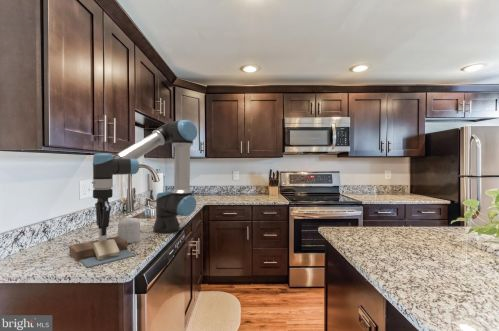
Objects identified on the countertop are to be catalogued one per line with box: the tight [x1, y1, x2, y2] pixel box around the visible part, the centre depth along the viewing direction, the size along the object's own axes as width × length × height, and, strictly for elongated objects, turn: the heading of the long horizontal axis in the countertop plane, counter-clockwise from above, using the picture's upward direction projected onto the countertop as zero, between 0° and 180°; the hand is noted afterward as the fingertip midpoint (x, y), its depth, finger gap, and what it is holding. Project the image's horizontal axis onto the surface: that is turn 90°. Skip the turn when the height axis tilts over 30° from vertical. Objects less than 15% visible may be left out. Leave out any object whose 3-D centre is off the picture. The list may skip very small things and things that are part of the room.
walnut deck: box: [68, 235, 128, 262], centre depth 118 cm, size 20×12×4 cm, turn 137°
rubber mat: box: [79, 249, 136, 269], centre depth 111 cm, size 18×10×1 cm, turn 137°
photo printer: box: [117, 217, 141, 244], centre depth 133 cm, size 10×4×12 cm, turn 123°
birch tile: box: [93, 239, 120, 260], centre depth 112 cm, size 8×8×2 cm
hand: (102, 242), depth 115 cm, fingers closed
